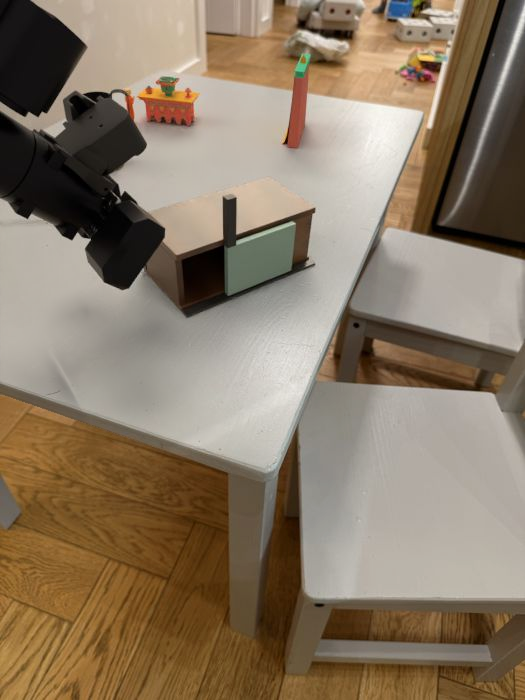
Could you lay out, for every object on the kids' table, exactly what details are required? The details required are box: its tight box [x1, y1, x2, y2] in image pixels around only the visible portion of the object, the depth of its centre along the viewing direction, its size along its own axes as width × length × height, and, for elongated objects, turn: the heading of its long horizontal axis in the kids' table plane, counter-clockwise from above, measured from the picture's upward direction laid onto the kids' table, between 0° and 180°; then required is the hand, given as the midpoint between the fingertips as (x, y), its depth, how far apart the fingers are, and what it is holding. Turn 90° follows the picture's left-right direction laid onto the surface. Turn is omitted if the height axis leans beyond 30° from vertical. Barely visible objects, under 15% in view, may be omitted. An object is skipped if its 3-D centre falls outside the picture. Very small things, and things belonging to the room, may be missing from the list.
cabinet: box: [143, 176, 316, 318], centre depth 64 cm, size 20×11×8 cm, turn 126°
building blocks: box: [123, 53, 312, 149], centre depth 96 cm, size 12×35×14 cm, turn 80°
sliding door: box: [223, 194, 296, 296], centre depth 59 cm, size 10×1×13 cm, turn 126°
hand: (156, 245), depth 51 cm, fingers closed
